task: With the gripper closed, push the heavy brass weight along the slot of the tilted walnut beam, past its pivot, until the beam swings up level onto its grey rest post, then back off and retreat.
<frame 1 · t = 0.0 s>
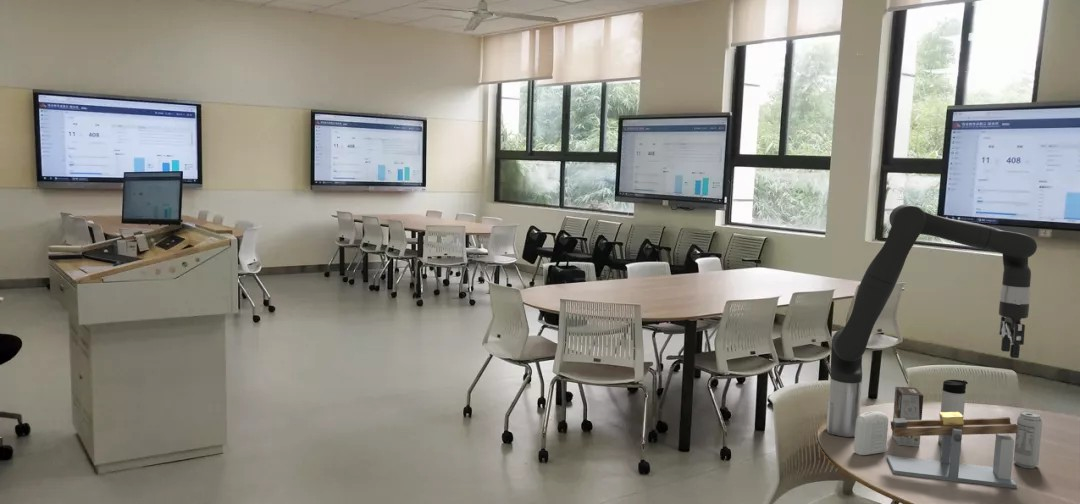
hand: (1009, 354, 231), 29 cm above the table, tool pointing down, fingers open, 8 cm apart
beam: (951, 426, 213), point 13 cm above the table, hinge at -8.4°, touching brass weight
coffee box: (905, 441, 240), on the table
photo printer: (869, 452, 229), on the table
travel mug: (950, 444, 238), on the table
energy drink can: (1025, 465, 222), on the table
stand: (948, 472, 215), on the table
brass weight: (952, 427, 213), point 13 cm above the table, tilted 8°, touching beam
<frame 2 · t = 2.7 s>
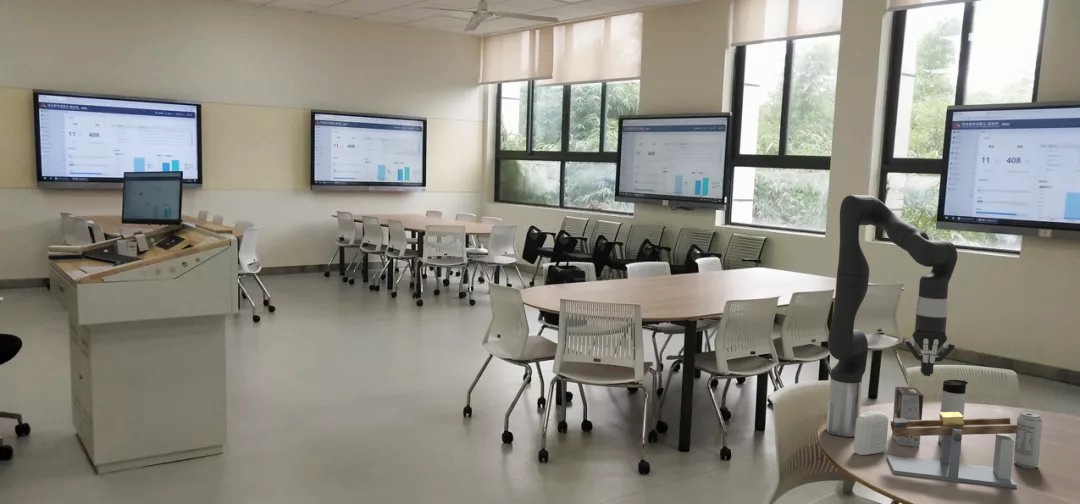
hand: (926, 375, 214), 27 cm above the table, tool pointing down, fingers closed
nothing on the table moved.
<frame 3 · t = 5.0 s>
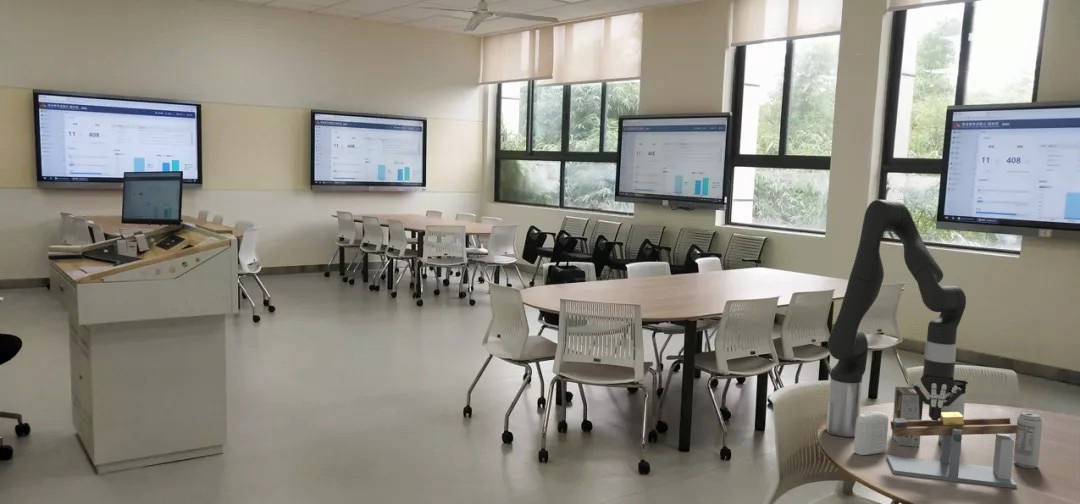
hand: (934, 419, 214), 15 cm above the table, tool pointing down, fingers closed
brass weight: (952, 427, 213), point 13 cm above the table, tilted 8°, touching beam, gripper
everything else where it was.
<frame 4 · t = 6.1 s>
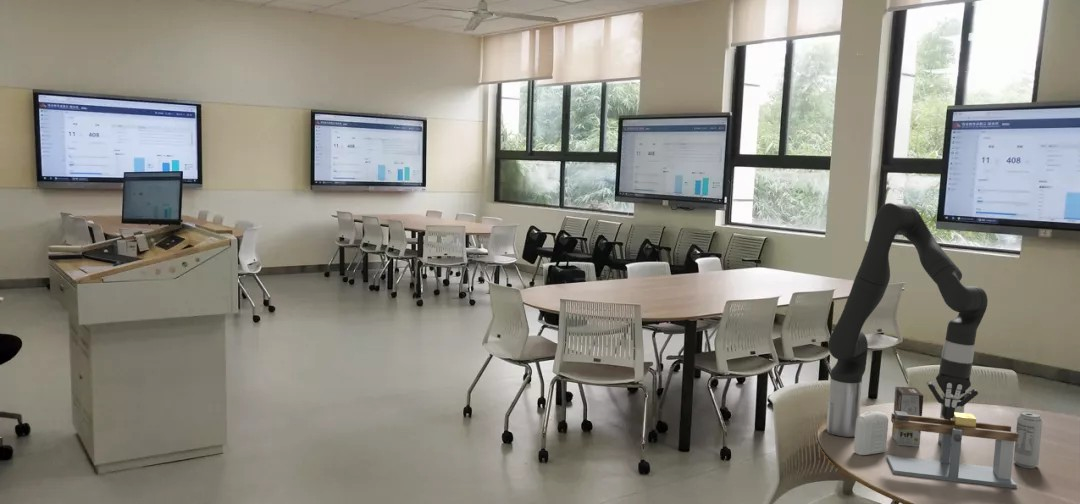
hand: (947, 418, 214), 15 cm above the table, tool pointing down, fingers closed
beam: (952, 426, 213), point 13 cm above the table, hinge at 0.4°
brass weight: (963, 428, 213), point 13 cm above the table, touching gripper
everything else where it was.
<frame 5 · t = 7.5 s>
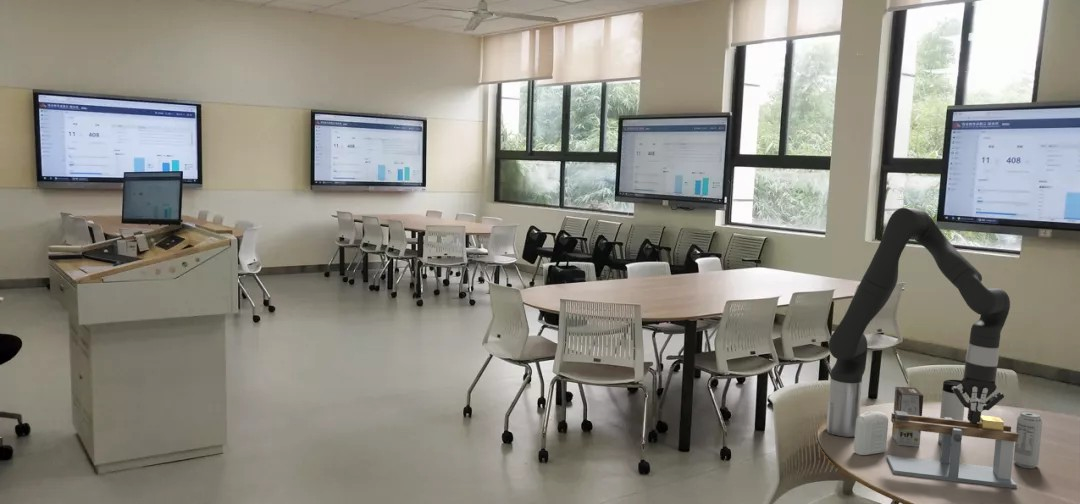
hand: (973, 423, 212), 15 cm above the table, tool pointing down, fingers closed
beam: (952, 426, 213), point 13 cm above the table, hinge at 0.6°, touching brass weight
brass weight: (989, 431, 211), point 13 cm above the table, touching beam, gripper
everything else where it was.
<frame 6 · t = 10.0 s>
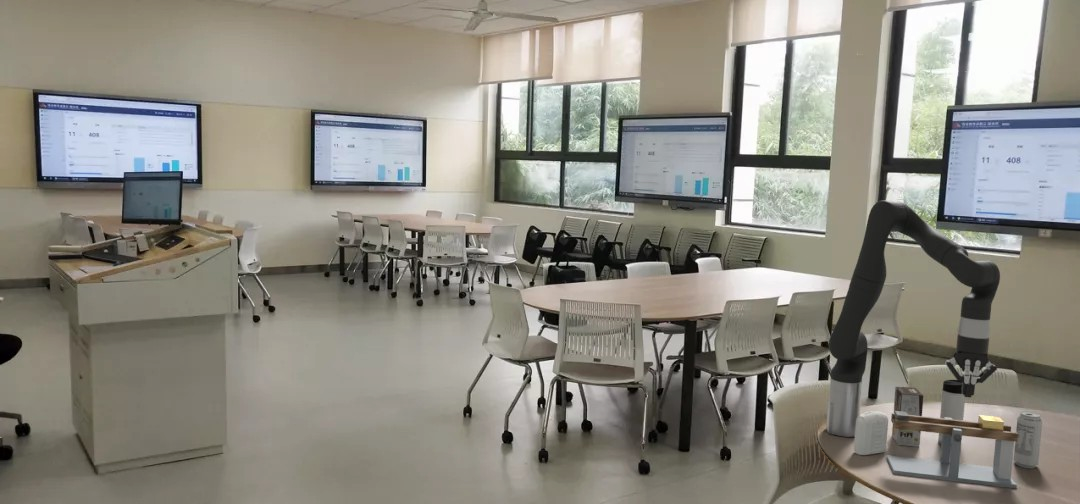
hand: (967, 396, 211), 22 cm above the table, tool pointing down, fingers closed
brass weight: (989, 431, 211), point 13 cm above the table, touching beam
everything else where it was.
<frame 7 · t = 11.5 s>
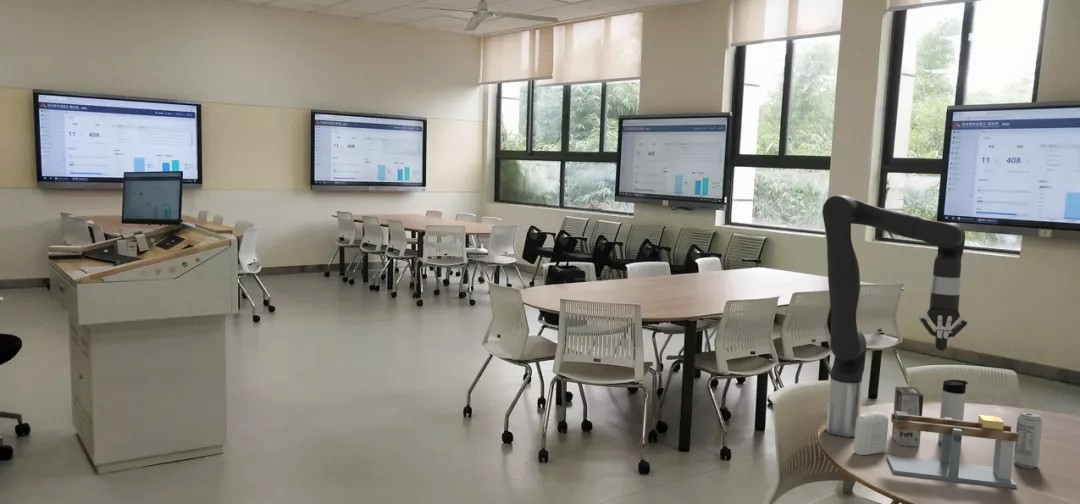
hand: (940, 350, 227), 31 cm above the table, tool pointing down, fingers closed
nothing on the table moved.
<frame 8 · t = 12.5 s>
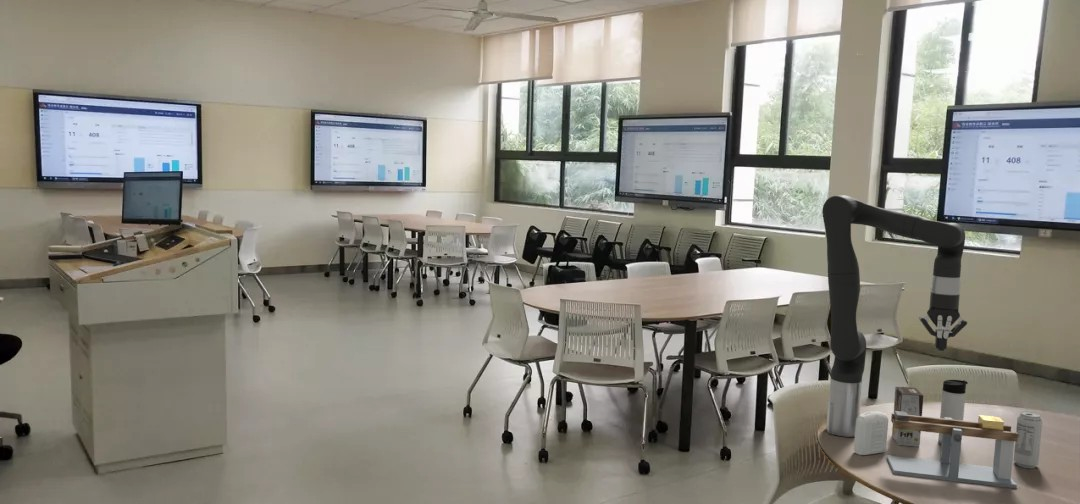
hand: (940, 350, 227), 31 cm above the table, tool pointing down, fingers closed
nothing on the table moved.
at the end: beam at +0° (first picture: -8°); brass weight 1.1 cm from the target spot on the beam, point 0.9 cm above the beam's base; the gripper is holding nothing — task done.
